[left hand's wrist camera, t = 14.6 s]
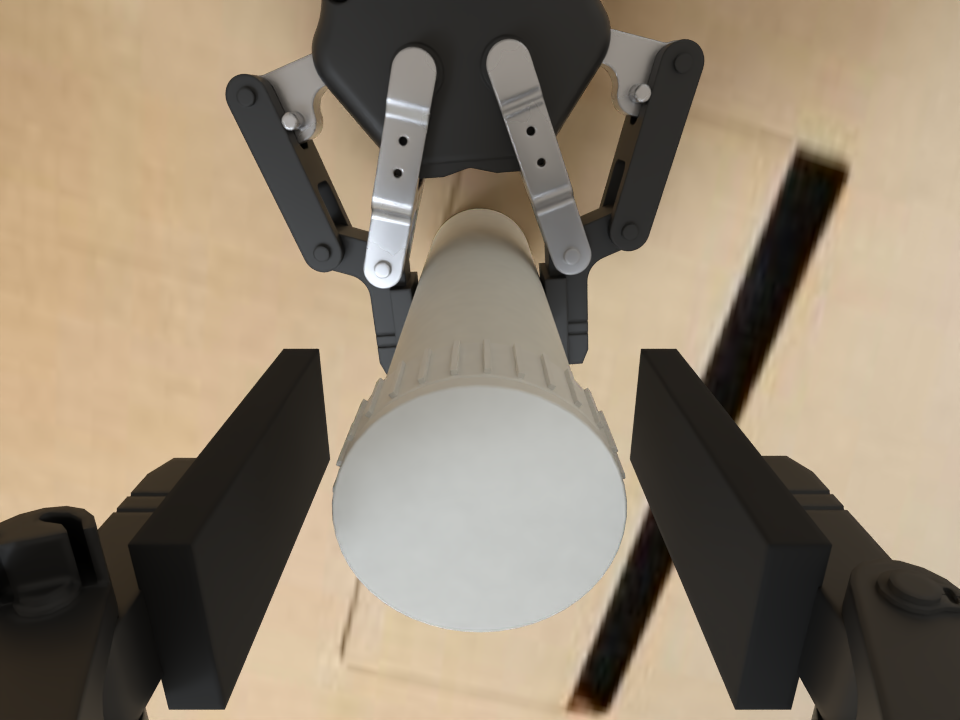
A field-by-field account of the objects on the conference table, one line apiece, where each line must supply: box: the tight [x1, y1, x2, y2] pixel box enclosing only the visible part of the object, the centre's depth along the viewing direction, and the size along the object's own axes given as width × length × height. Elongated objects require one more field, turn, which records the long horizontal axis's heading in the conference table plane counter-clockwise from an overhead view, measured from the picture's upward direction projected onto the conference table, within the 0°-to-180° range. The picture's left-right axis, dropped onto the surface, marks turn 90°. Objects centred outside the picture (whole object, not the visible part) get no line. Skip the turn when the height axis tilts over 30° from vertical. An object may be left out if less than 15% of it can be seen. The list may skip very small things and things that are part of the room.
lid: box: [332, 339, 627, 632], centre depth 11 cm, size 5×5×2 cm
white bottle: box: [386, 209, 571, 378], centre depth 19 cm, size 4×4×18 cm
